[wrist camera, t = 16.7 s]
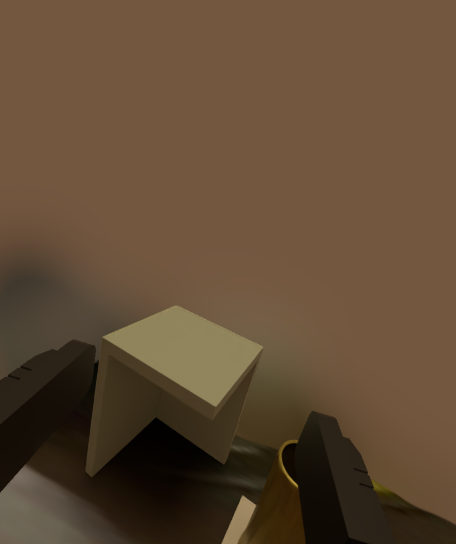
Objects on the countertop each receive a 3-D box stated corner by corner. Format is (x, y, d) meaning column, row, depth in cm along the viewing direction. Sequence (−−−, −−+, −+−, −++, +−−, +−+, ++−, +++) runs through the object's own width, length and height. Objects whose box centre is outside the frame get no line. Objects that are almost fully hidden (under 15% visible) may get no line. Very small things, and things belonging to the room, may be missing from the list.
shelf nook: (85, 471, 33) (102, 336, 28) (154, 409, 44) (176, 305, 39) (173, 552, 28) (215, 407, 23) (226, 459, 39) (263, 347, 34)
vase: (254, 514, 33) (290, 425, 29) (300, 562, 29) (347, 468, 25) (224, 561, 28) (262, 461, 24) (274, 625, 24) (327, 521, 20)
